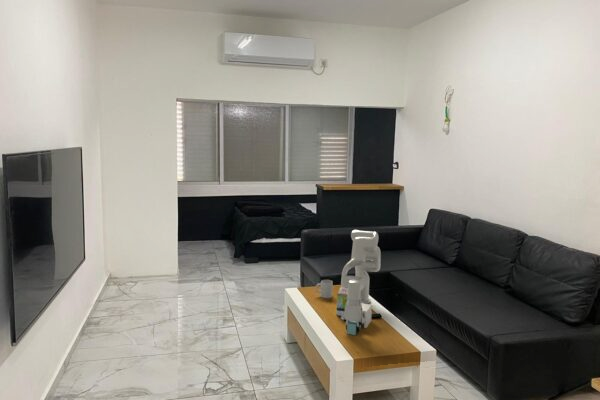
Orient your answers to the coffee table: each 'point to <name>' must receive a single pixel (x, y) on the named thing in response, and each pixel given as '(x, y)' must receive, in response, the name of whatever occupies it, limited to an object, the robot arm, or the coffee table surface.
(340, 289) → the tea box
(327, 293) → the mug
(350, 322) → the pale blue rectangular block
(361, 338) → the coffee table surface
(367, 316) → the white arch block
